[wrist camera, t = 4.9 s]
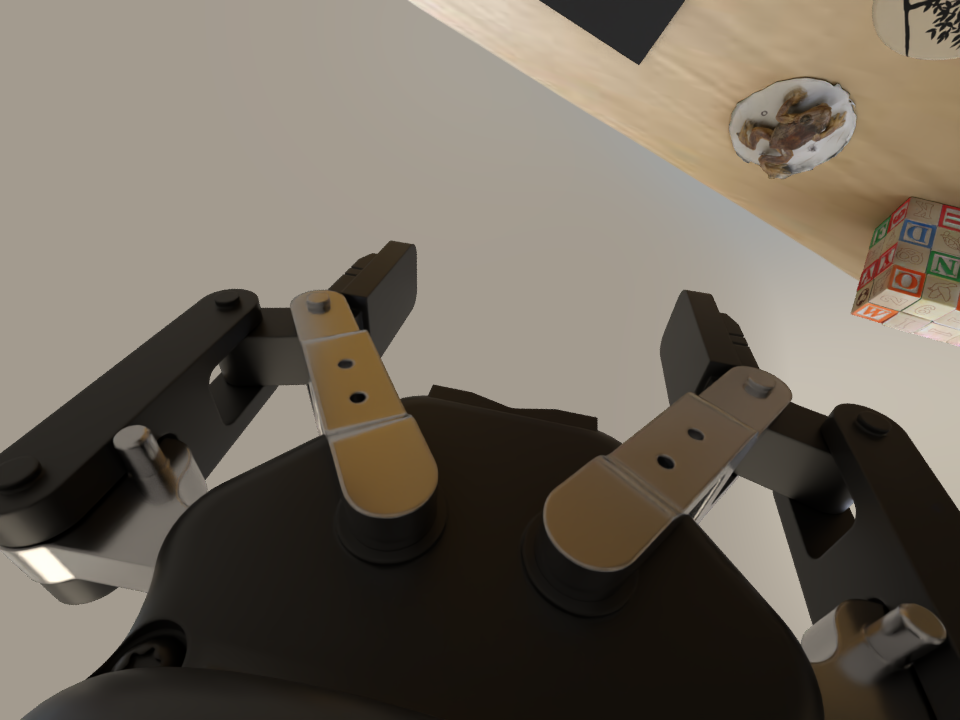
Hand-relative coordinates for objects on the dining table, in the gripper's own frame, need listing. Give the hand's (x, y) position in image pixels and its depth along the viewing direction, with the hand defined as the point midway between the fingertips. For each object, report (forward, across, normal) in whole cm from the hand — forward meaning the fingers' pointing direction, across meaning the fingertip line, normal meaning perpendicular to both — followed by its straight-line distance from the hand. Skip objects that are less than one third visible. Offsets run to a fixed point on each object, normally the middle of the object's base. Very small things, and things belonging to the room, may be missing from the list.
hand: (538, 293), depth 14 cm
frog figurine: (+47, -22, 0) cm, 52 cm away
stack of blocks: (+45, -48, +8) cm, 66 cm away
